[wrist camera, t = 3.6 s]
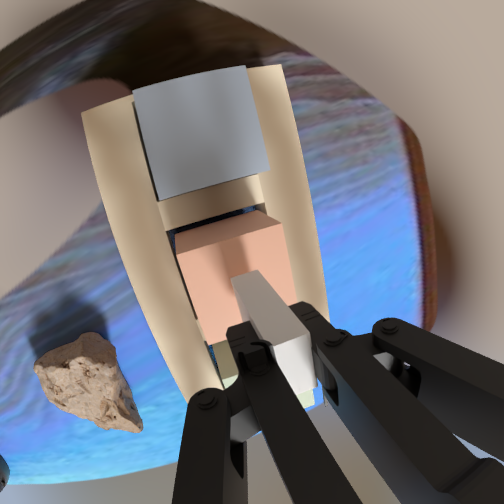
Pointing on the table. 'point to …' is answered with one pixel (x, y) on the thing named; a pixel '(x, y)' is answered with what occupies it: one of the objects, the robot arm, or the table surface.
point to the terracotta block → (232, 266)
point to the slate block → (200, 130)
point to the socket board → (198, 208)
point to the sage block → (231, 372)
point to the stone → (89, 383)
